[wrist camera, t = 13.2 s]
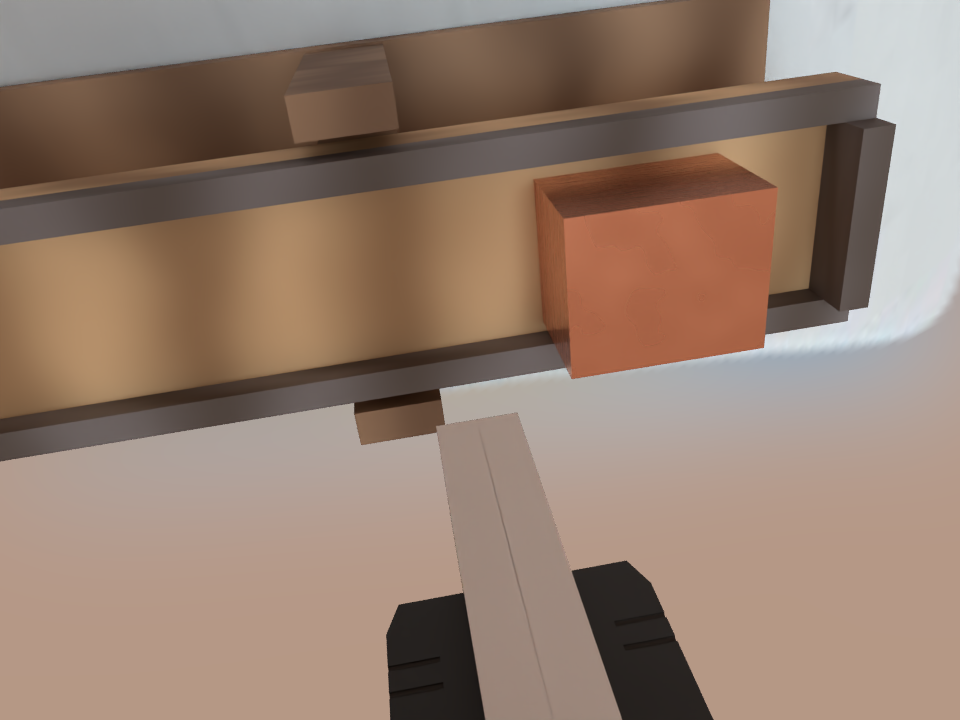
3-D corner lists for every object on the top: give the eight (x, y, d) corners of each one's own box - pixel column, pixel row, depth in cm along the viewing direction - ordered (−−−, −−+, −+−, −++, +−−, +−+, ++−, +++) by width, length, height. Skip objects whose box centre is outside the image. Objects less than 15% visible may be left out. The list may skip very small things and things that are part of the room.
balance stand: (21, 372, 35) (-98, 524, 26) (-104, 100, 29) (-314, 172, 20) (739, 260, 37) (863, 363, 28) (757, -12, 32) (919, 7, 22)
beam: (-63, 434, 27) (-116, 497, 24) (-183, 214, 23) (-264, 256, 20) (810, 293, 29) (863, 333, 26) (835, 72, 25) (901, 89, 22)
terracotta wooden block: (543, 321, 27) (571, 379, 23) (533, 179, 24) (563, 218, 21) (710, 295, 27) (764, 347, 24) (717, 152, 25) (777, 187, 21)
